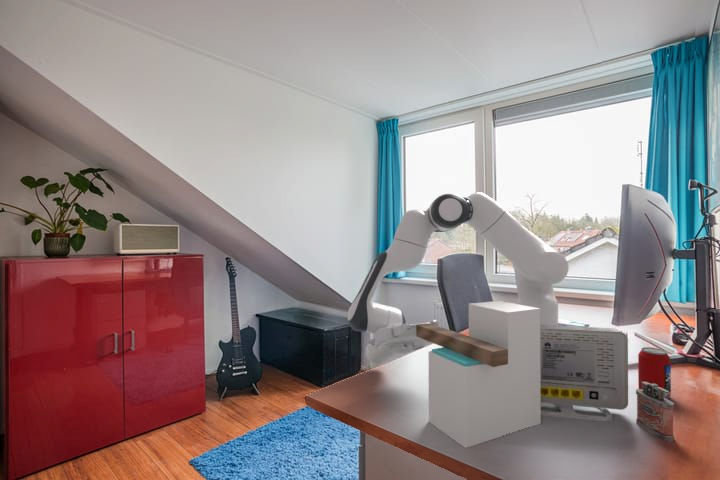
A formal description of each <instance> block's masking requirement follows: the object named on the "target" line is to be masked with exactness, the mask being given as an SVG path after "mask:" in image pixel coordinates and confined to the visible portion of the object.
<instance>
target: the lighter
mask: <svg viewBox="0 0 720 480" xmlns="http://www.w3.org/2000/svg"><path fill="white" fill-rule="evenodd" d="M635 395H636V409H637V410H636V412H637V413H636V415H637V416H636V417H637V418H636V420H635V423H636V425H638V426H639V427H640V428H641V429H642V430H644V431H646V432H648V433H649V434H651V435H653V436H655V437H657V438H659V439H660V440H661V439H662V440H663V439H664V440H663V441H666V440H668V442H673V440H674V441H675V434H674V408H675V403H674V402H673V401H671V400H670V399H671V398H670V397H671V396H670V392H669V391H667V390H665V389H663V388H660V387H659V386H658V385H657V384H650V383H648V382H642V389H639V388H637V389H635ZM664 397H666V398H664ZM668 398H669V399H668Z"/></svg>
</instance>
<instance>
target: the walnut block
mask: <svg viewBox="0 0 720 480" xmlns="http://www.w3.org/2000/svg"><path fill="white" fill-rule="evenodd" d="M426 323H427V322H426ZM418 324H419V323H418ZM416 336H417V337H419V338H422V339H424V340H427V341H429V343H432V344H434V345H436V346H437V345H438V346H439V347H441V348H443V347H444V348H447V349H449V350H452V351H454V352H457V353H459V354H462V355H464V356H467V357H469V358H472V359H474V360H477V361H479V362H482V363H484V364H487V365H489V366H492V367H497V366H501V365H506V364H508V349H506V348H503V347H500V346H497V345H494V344H491V343H488V342H485V341H482V340H479V339H476V338H472V337H469V335H466V334H462V333H460V332H457V331H454V330H451V329H448V328H444V327H442V326H441V327H439V326H436V325H433V324H430V323H427V324H419V325H416Z"/></svg>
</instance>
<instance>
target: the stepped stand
mask: <svg viewBox="0 0 720 480" xmlns="http://www.w3.org/2000/svg"><path fill="white" fill-rule="evenodd" d="M468 336H469V337H472V338H476V339H479V340H482V341H485V342H488V343H491V344H494V345H497V346H500V347H503V348H506V349H508V364H506V365H501V366H497V367H492V366H489V365H487V364H484V363H482V362H479V361H477V360H474V359H472V358H469V357H467V356H464V355H462V354H459V353H457V352H454V351H452V350H449V349H447V348H444V347H437V348H432V349H431V351H428V422H429V423H430V424H431V425H433V426H434V427H435V428H437V429H438V430H439V431H441V432H443V433H444V434H445V435H446V436H448V437H449V438H451V439H452V440H453V441H454V442H456V443H458V444H459V445H460V446H462V447H463V448H464V449H467V448H471V447H474V446H476V445H479V444H482V443H485V442H489V441H491V440H495V439H498V438H500V437H504V436H507V435H510V434H513V433H516V432H519V431H518V430H520V431H523V430H525V428H526V429H528V427H529V428H531V427H535V426H538V425H541V423H542V422H541V420H542V419H541V418H542V417H541V416H542V415H541V411H542V410H541V407H542V405H541V404H542V403H541V401H540V308H535V307H529V306H524V305H519V303H518V304H517V303H512V302H506V301H501V300H494V301H493V300H492V301H491V300H490V301H483V302H474V303H473V302H471V303H468ZM522 429H523V430H522ZM515 431H516V432H515ZM512 432H513V433H512ZM509 433H510V434H509ZM506 434H507V435H506ZM503 435H504V436H503Z"/></svg>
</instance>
